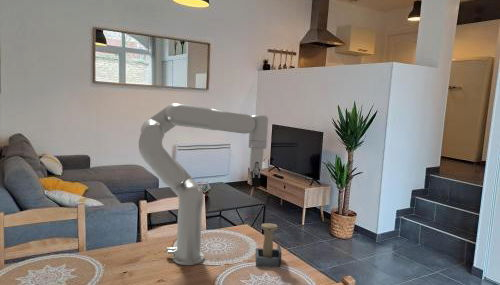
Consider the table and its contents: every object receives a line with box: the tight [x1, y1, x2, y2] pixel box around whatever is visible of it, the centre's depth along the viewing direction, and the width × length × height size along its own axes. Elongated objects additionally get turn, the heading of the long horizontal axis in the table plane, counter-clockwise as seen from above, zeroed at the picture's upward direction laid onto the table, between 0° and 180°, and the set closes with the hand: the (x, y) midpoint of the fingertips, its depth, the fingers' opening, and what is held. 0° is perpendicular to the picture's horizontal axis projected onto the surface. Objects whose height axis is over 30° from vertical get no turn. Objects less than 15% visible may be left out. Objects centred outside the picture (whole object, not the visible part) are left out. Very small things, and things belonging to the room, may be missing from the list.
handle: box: [260, 222, 278, 257], centre depth 145 cm, size 5×6×15 cm
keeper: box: [254, 243, 282, 268], centre depth 146 cm, size 10×9×6 cm
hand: (255, 184), depth 150 cm, fingers open, 9 cm apart
